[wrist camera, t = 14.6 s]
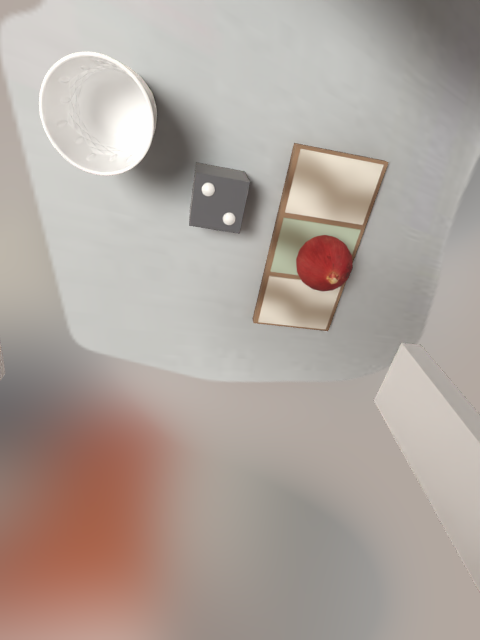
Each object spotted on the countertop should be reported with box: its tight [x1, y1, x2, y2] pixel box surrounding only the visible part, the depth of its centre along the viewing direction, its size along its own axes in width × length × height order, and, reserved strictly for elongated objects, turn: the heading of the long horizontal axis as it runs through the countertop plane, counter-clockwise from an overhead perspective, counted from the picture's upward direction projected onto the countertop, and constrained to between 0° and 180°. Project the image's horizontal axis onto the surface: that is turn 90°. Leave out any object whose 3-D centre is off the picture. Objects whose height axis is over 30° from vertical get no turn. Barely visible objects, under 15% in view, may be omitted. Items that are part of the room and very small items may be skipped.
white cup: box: [39, 52, 157, 176], centre depth 32 cm, size 8×8×10 cm
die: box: [189, 162, 250, 233], centre depth 39 cm, size 5×5×5 cm
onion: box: [296, 235, 353, 291], centre depth 41 cm, size 6×6×8 cm
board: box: [253, 143, 389, 331], centre depth 45 cm, size 21×10×1 cm, turn 169°
